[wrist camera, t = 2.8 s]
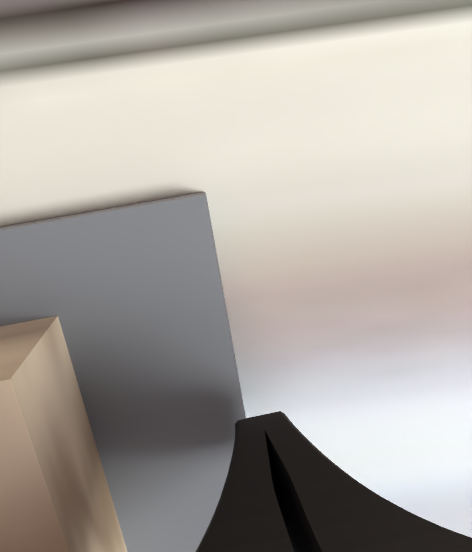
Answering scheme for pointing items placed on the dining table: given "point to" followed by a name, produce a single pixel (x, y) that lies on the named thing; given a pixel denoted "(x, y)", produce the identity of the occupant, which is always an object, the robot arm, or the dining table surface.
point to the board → (139, 353)
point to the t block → (48, 450)
